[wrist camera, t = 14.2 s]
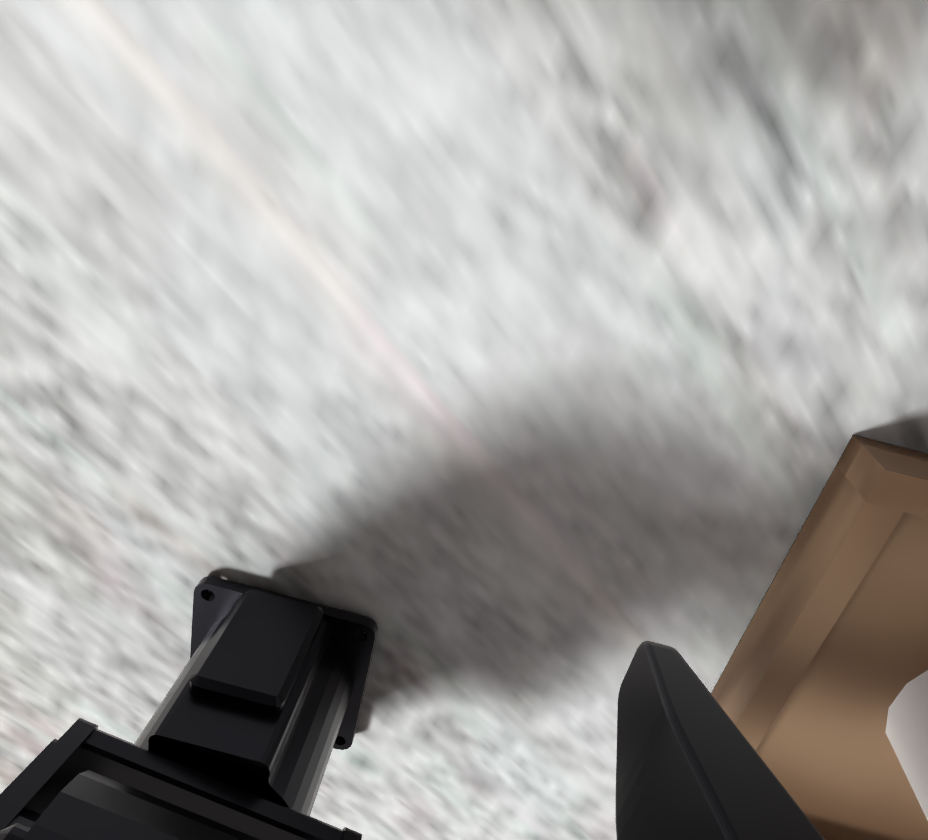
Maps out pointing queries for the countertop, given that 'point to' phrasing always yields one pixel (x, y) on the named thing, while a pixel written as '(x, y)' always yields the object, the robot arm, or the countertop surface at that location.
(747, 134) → the countertop surface
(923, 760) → the white cylinder
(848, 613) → the walnut tray
